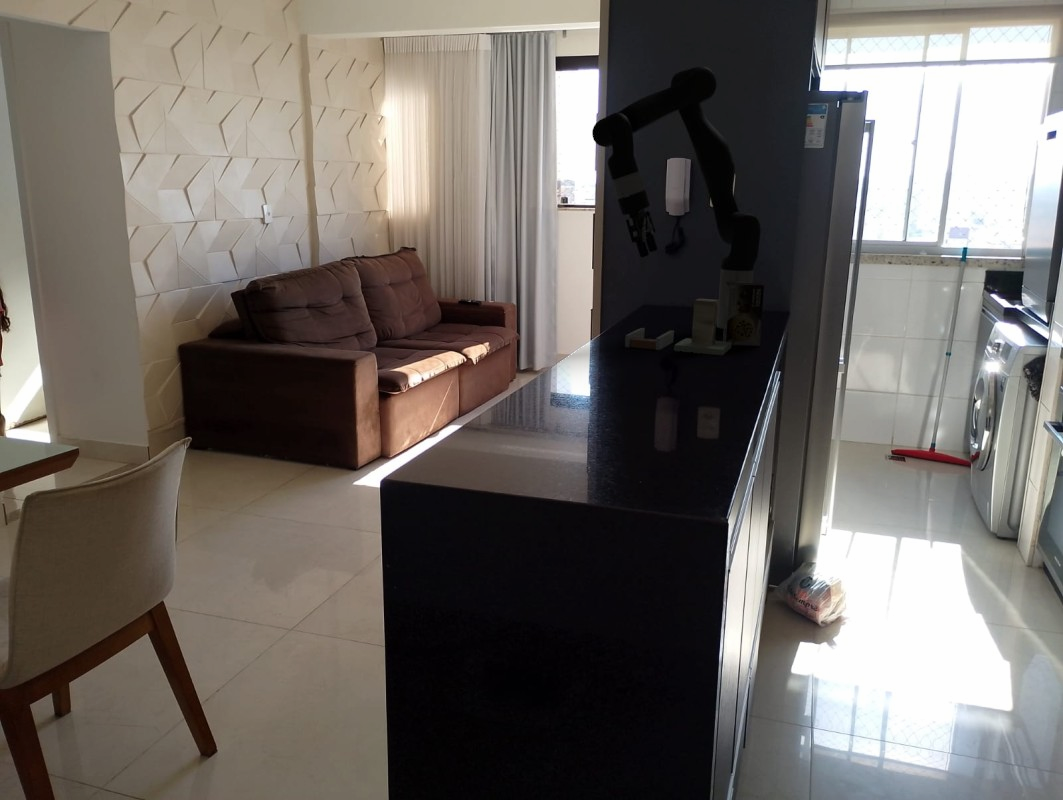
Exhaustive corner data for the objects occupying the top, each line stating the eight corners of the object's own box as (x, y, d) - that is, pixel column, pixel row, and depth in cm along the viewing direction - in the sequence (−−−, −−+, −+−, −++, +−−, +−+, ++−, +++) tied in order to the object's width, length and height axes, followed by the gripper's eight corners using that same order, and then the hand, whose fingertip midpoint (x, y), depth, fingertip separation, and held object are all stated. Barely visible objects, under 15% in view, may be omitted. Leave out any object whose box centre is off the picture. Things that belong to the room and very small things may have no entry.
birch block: (695, 341, 222) (698, 298, 220) (714, 342, 220) (718, 299, 218) (691, 344, 218) (694, 300, 215) (711, 345, 216) (714, 302, 213)
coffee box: (756, 342, 232) (761, 282, 228) (760, 346, 226) (765, 284, 222) (721, 341, 233) (726, 280, 229) (724, 345, 227) (729, 283, 223)
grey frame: (640, 338, 233) (641, 327, 232) (673, 341, 229) (673, 330, 229) (625, 346, 220) (625, 335, 219) (659, 350, 217) (660, 338, 216)
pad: (685, 343, 227) (685, 338, 227) (731, 347, 222) (731, 342, 222) (674, 350, 216) (674, 345, 216) (722, 355, 212) (722, 349, 211)
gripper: (625, 195, 230) (643, 253, 233) (609, 200, 218) (628, 262, 221) (651, 186, 227) (669, 245, 230) (636, 191, 214) (655, 254, 217)
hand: (649, 253), depth 225 cm, fingers open, 8 cm apart
